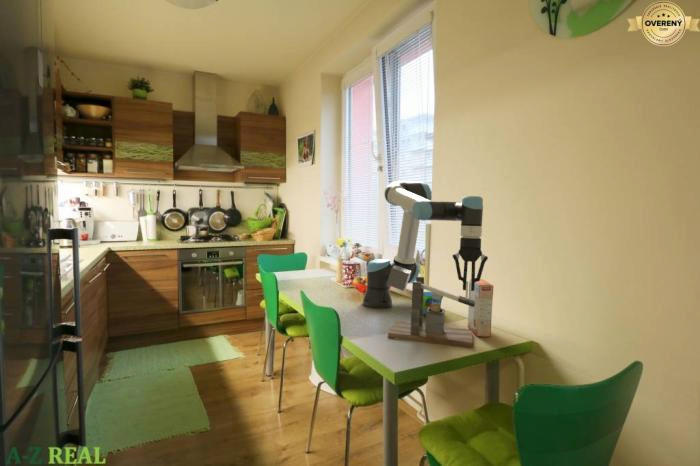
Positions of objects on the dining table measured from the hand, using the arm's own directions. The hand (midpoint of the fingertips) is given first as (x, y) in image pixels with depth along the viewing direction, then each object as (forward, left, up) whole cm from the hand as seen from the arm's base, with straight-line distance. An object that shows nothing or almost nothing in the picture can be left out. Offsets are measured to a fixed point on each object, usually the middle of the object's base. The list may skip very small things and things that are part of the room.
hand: (468, 298), depth 148 cm
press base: (0, -13, -16) cm, 21 cm away
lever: (0, -15, -1) cm, 15 cm away
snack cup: (-32, -16, -16) cm, 39 cm away
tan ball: (0, -12, -7) cm, 14 cm away
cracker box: (-13, +5, -16) cm, 22 cm away
